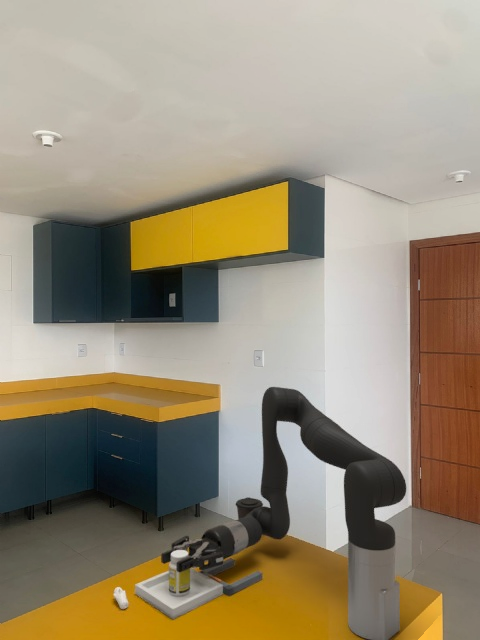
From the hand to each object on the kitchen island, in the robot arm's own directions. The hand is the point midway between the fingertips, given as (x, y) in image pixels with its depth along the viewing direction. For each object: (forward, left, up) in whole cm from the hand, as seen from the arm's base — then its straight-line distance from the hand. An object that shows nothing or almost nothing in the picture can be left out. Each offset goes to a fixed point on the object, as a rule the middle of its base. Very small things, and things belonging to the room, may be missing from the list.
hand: (169, 563), depth 112 cm
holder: (-3, -16, -8) cm, 18 cm away
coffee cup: (+12, -38, -8) cm, 40 cm away
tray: (0, -3, -8) cm, 8 cm away
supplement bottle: (0, -3, -7) cm, 8 cm away
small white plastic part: (+5, +9, -8) cm, 13 cm away
